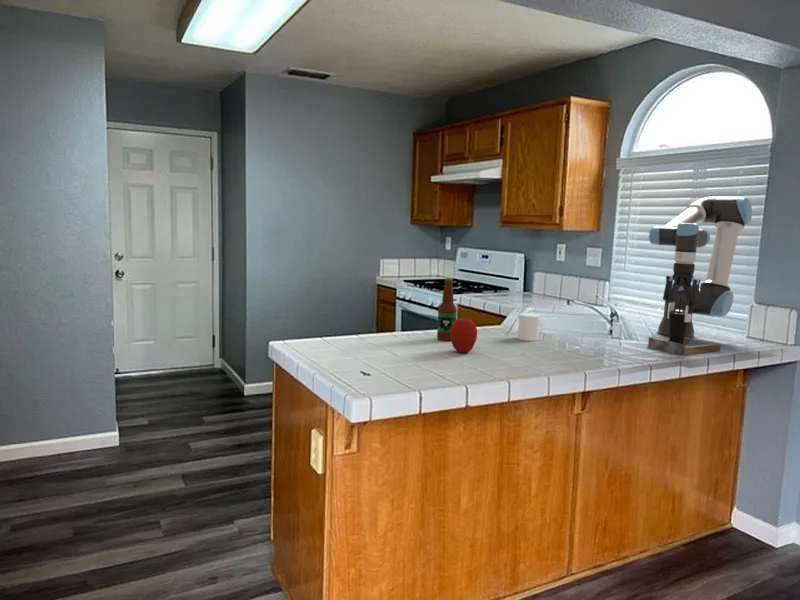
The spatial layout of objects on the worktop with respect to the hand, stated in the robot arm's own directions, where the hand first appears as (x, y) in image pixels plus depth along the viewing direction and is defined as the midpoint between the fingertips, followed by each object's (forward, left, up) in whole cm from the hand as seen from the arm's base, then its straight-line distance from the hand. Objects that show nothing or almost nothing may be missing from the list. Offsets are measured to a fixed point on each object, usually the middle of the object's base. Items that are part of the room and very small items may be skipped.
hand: (678, 320), depth 237 cm
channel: (0, +5, -12) cm, 13 cm away
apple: (-26, -85, -12) cm, 90 cm away
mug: (-37, -43, -12) cm, 58 cm away
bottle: (-47, -79, -12) cm, 93 cm away
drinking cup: (0, 0, -11) cm, 11 cm away
